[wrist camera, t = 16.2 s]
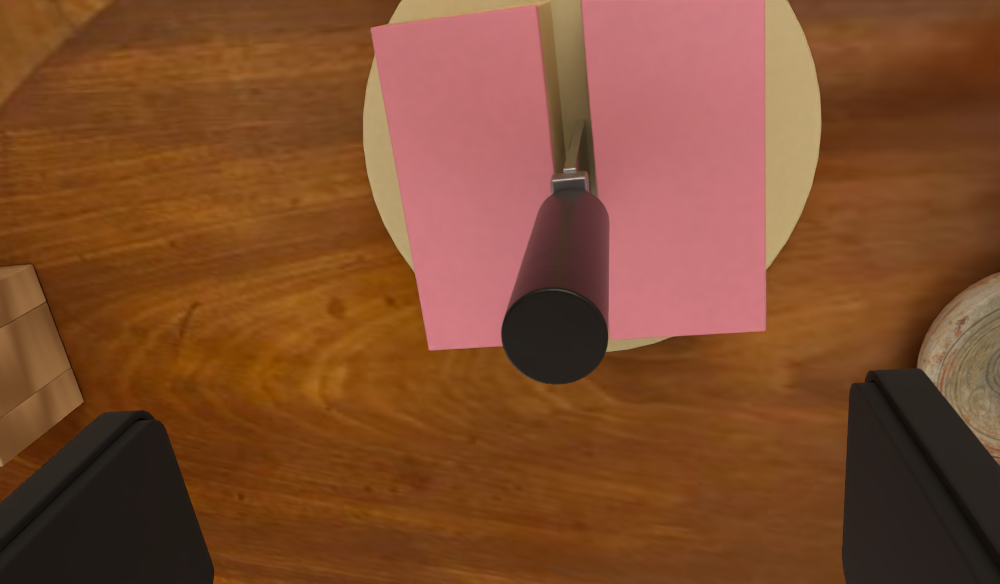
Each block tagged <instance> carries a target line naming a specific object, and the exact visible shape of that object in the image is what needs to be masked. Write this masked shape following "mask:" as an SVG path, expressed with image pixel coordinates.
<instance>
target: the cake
mask: <svg viewBox="0 0 1000 584" xmlns="http://www.w3.org/2000/svg"><path fill="white" fill-rule="evenodd" d="M371 35H372V41H373V46H374V52H375V56H374V59H373V63H372V67H371V71H370V75H369V79H368V82H367V87H366V95H365V103H364V111H363V146H364V154H365V161H366V169H367V174H368V178H369V182H370V186H371V189H372V193H373V197H374V200H375V203H376V205H377V208H378V210H379V213H380V215H381V218H382V220H383V223H384V225H385V227H386V229H387V231H388V232H389V234H390V236H391V238H392V240H393V241H394V243H395V245H396V247H397V249H398V250H399V251H400V253H401V254H402V256H403V257H404V258H405V260H406V261H407V263H408V264H409V265H410V267H411V268H412V270H413V271H414V272H415V276H416V282H417V287H418V293H419V298H420V303H421V309H422V314H423V320H424V325H425V331H426V336H427V342H428V347H429V350H446V349H463V348H480V347H497V346H503V345H502V340H501V327H502V323H503V319H504V316H505V313H506V310H507V307H508V304H509V301H510V298H511V294H512V291H513V288H514V285H515V282H516V279H517V276H518V273H519V269H520V266H521V263H522V260H523V257H524V254H525V251H526V248H527V245H528V241H529V238H530V235H531V232H532V229H533V226H534V223H535V220H536V217H537V213H538V211H539V209H540V207H541V205H542V204H543V202H544V201H545V200H546V199H547V198H548V197H549V196H550V195H551V185H550V181H551V178H552V175H553V174H558V173H563V168H564V164H565V160H566V157H567V153H568V149H569V145H570V141H571V137H572V133H573V130H574V126H575V122H576V120H577V119H585V120H586V131H587V142H588V154H589V165H590V176H591V188H592V189H591V193H592V194H593V195H595V196H596V197H597V198H598V199H599V200H600V201H601V202H602V203H603V204H604V206H605V208H606V210H607V212H608V216H609V225H610V227H609V318H608V346H607V350H606V352H610V351H619V350H628V349H632V348H636V347H640V346H645V345H649V344H653V343H656V342H659V341H662V340H664V339H667V338H670V337H673V336H689V335H706V334H723V333H740V332H757V331H766V269H767V268H768V267H769V266H770V265H771V263H772V262H773V260H774V259H775V258H776V256H777V255H778V253H779V252H780V251H781V249H782V248H783V246H784V245H785V243H786V242H787V240H788V239H789V237H790V235H791V233H792V231H793V229H794V227H795V225H796V223H797V222H798V220H799V218H800V216H801V214H802V211H803V208H804V206H805V203H806V200H807V198H808V195H809V192H810V190H811V187H812V183H813V179H814V174H815V170H816V166H817V161H818V157H819V147H820V136H821V104H820V91H819V86H818V80H817V75H816V70H815V65H814V61H813V58H812V55H811V52H810V49H809V46H808V43H807V40H806V37H805V34H804V32H803V30H802V28H801V26H800V24H799V22H798V20H797V18H796V16H795V14H794V12H793V10H792V8H791V6H790V4H789V2H788V1H787V0H401V2H400V3H399V5H398V7H397V9H396V11H395V12H394V14H393V16H392V18H391V19H390V21H389V23H388V24H387V25H382V26H376V27H372V28H371Z"/></svg>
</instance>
